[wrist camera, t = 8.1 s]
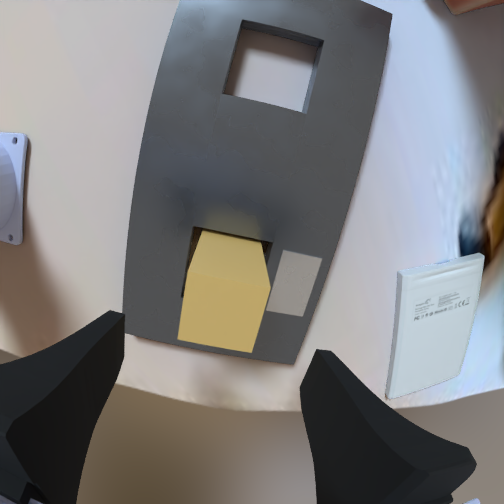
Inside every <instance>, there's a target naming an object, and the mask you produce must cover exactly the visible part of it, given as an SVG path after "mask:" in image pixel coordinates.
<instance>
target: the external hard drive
mask: <svg viewBox="0 0 504 504" xmlns="http://www.w3.org/2000/svg"><path fill="white" fill-rule="evenodd" d="M483 265H484V255H482V254H480V253H476V254H472V255H468V256H464V257H459V258H455V259H451V260H449V262H446V263H442V264H435V263H433V264H428V265H424V266H419V267H414V268H410V269H405V270H400V271H398V272H397V293H396V307H395V320H394V330H393V340H392V349H391V357H390V364H389V372H388V378H387V385H386V391H385V393H386V395H387V397H388V398H389V399H394V398H398V397H401V396H404V395H407V394H410V393H413V392H416V391H419V390H422V389H425V388H427V387H430V386H433V385H436V384H438V383H441V382H444V381H446V380H449V379H451V378H454V377H456V376H458V375H459V374H460V371H461V368H462V364H463V361H464V357H465V354H466V350H467V346H468V343H469V339H470V335H471V330H472V326H473V322H474V317H475V312H476V308H477V302H478V297H479V291H480V285H481V279H482V272H483Z"/></svg>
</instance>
